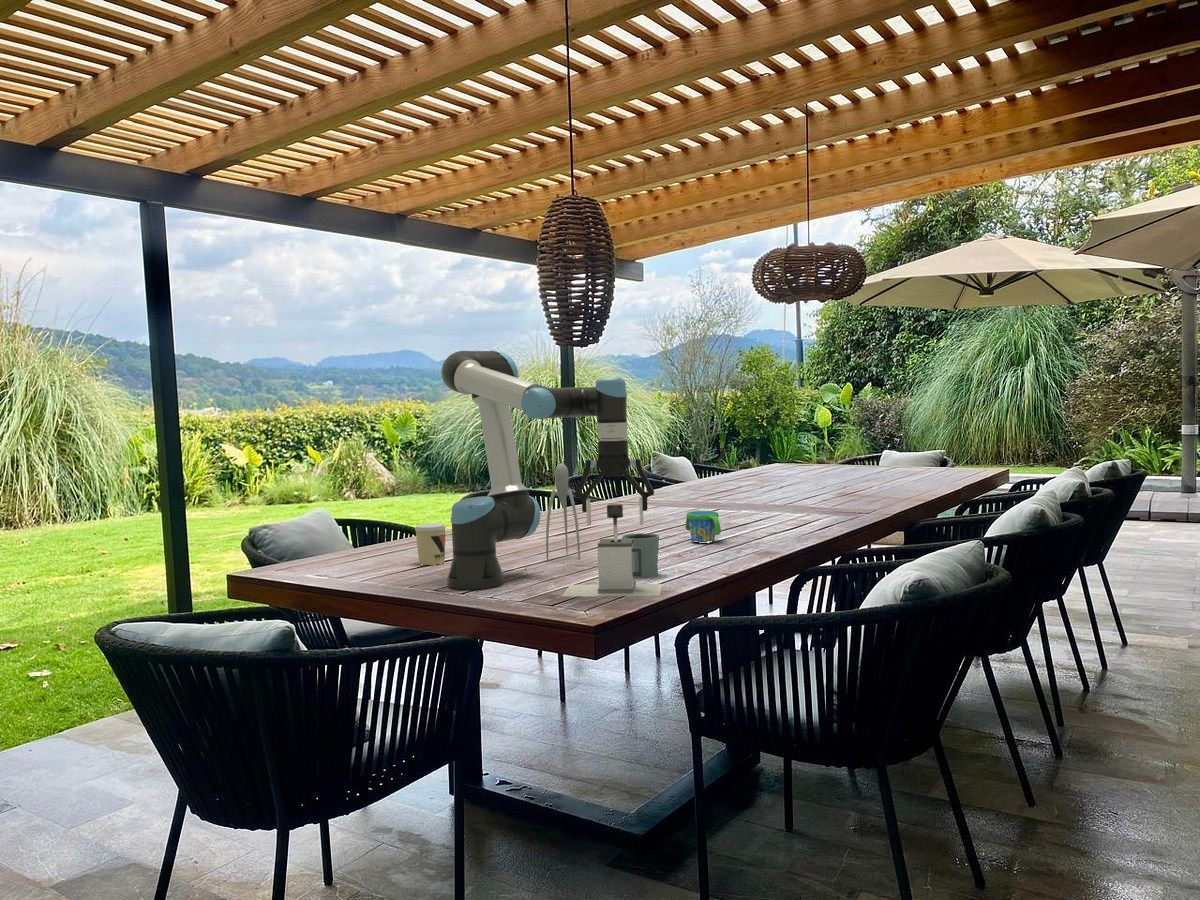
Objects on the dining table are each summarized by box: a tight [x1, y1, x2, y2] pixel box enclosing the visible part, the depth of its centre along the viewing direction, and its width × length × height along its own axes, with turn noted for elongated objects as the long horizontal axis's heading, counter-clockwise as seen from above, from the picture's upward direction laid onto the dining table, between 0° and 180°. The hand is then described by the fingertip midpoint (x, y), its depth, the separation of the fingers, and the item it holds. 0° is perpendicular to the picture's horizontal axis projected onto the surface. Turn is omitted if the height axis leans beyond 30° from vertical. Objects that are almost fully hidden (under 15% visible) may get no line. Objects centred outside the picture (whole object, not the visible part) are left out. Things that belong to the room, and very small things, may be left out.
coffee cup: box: [414, 522, 447, 566], centre depth 284 cm, size 9×9×12 cm
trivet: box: [562, 583, 663, 598], centre depth 231 cm, size 24×14×1 cm, turn 84°
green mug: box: [621, 533, 660, 579], centre depth 249 cm, size 10×10×12 cm
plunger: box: [606, 503, 624, 542], centre depth 231 cm, size 6×6×18 cm
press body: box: [597, 538, 642, 593], centre depth 231 cm, size 11×9×12 cm
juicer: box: [545, 462, 581, 562], centre depth 285 cm, size 10×9×30 cm
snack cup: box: [685, 510, 722, 542], centre depth 308 cm, size 16×10×10 cm
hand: (615, 524), depth 230 cm, fingers open, 13 cm apart
